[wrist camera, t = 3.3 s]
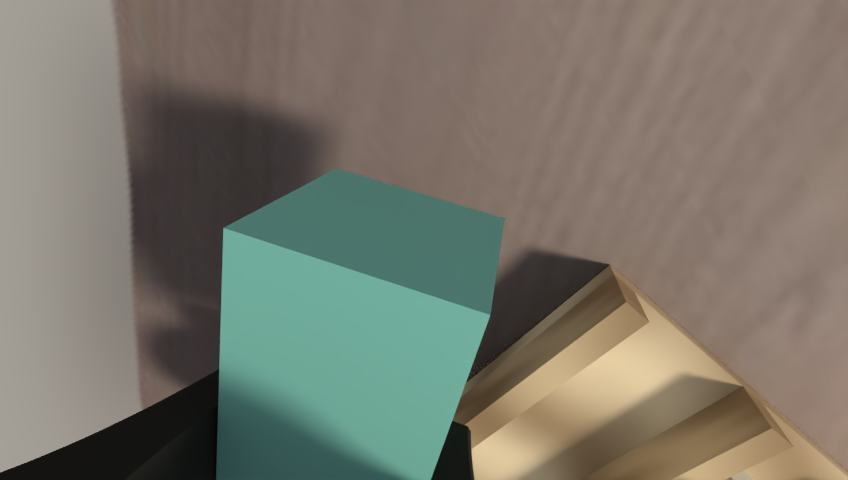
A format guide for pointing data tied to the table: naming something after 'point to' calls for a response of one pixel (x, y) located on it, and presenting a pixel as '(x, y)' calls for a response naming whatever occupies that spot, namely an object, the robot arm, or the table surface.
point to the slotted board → (625, 403)
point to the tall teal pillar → (349, 330)
